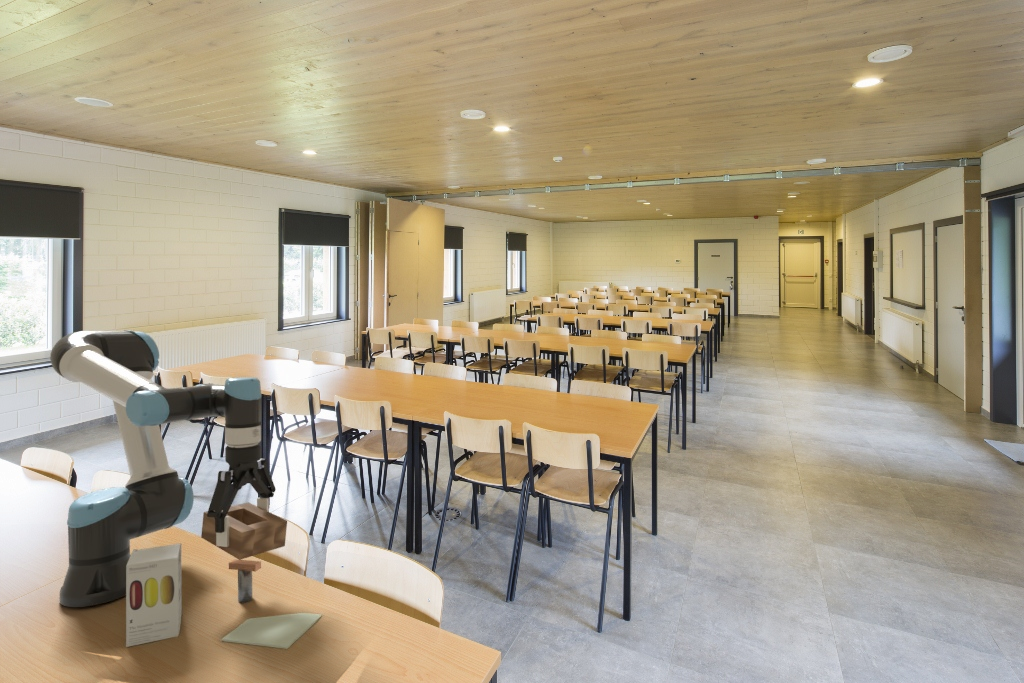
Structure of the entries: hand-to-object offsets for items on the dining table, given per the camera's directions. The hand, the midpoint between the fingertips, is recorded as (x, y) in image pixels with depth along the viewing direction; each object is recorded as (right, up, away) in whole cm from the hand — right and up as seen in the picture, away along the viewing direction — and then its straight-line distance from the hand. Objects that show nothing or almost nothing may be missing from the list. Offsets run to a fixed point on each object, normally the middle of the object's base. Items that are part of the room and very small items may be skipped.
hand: (243, 535), depth 129 cm
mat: (+11, -16, -10) cm, 22 cm away
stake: (0, -16, 0) cm, 16 cm away
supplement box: (-13, -17, -11) cm, 24 cm away
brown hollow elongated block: (0, -2, 0) cm, 2 cm away
